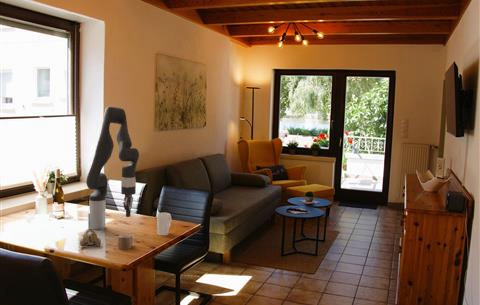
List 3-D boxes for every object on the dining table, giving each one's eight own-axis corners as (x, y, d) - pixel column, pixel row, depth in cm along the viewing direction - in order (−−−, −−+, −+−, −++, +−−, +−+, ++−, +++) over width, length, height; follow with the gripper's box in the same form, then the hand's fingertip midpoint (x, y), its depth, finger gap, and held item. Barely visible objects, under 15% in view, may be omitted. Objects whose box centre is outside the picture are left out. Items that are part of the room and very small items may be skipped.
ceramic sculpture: (99, 224, 249) (101, 233, 236) (99, 239, 251) (101, 248, 237) (79, 225, 246) (79, 234, 232) (79, 240, 247) (80, 250, 233)
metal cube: (121, 245, 242) (118, 248, 236) (121, 234, 241) (118, 237, 236) (132, 245, 242) (129, 248, 236) (132, 234, 242) (129, 237, 236)
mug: (162, 236, 260) (163, 216, 258) (154, 234, 264) (154, 214, 262) (175, 232, 268) (175, 213, 267) (167, 230, 272) (167, 211, 270)
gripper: (124, 182, 249) (124, 213, 251) (118, 187, 236) (118, 219, 238) (138, 183, 249) (137, 213, 251) (132, 187, 236) (132, 220, 238)
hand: (128, 216), depth 245 cm, fingers closed
